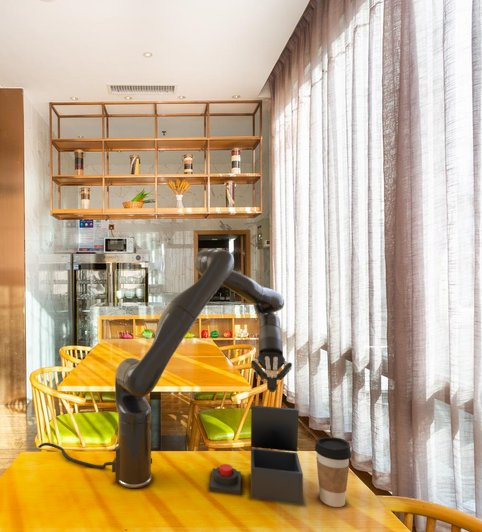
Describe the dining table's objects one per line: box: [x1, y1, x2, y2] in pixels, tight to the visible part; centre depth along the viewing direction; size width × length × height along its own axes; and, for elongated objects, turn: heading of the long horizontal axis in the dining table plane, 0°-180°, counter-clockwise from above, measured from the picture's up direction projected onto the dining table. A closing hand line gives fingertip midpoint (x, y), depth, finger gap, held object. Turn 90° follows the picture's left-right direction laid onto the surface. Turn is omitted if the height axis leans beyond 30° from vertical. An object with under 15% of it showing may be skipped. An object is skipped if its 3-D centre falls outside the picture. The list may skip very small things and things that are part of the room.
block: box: [209, 466, 242, 496], centre depth 109 cm, size 8×10×3 cm
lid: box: [250, 404, 300, 453], centre depth 111 cm, size 12×13×1 cm
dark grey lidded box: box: [250, 447, 304, 506], centre depth 107 cm, size 12×13×8 cm
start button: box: [218, 463, 234, 476], centre depth 109 cm, size 4×4×2 cm
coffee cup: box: [314, 436, 352, 508], centre depth 102 cm, size 8×8×15 cm
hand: (272, 390), depth 119 cm, fingers closed
